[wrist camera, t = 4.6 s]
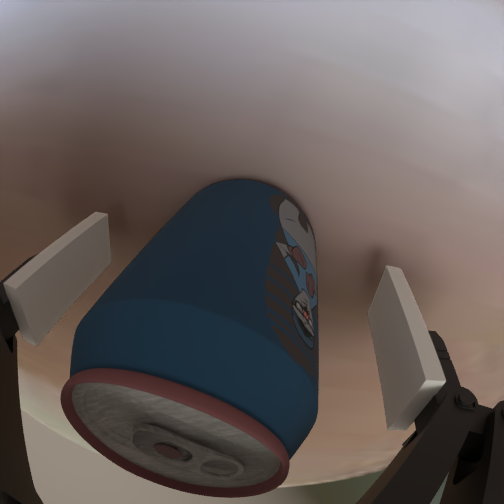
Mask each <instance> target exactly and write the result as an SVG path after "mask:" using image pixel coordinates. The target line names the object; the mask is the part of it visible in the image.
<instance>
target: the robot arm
mask: <svg viewBox="0 0 504 504" xmlns="http://www.w3.org/2000/svg"><path fill="white" fill-rule="evenodd" d="M111 263H112V259H111V249H110V237H109V224H108V214H106V213H100V212H94V213H93V214H91V215H90V216H89V217H87V218H86V219H84V220H83V221H81V222H80V223H79V224H77V225H76V226H75V227H73V228H72V229H70V230H69V231H68V232H66V233H65V234H64V235H62V236H61V237H60V238H58V239H57V240H56V241H54V242H53V243H52V244H51V245H49V246H48V247H47V248H45V249H44V250H43V251H42V252H40V253H38V254H36V255H34V256H32V257H30V258H29V259H27V260H26V261H25V262H24V263H22V265H20V266H19V267H18V268H17V269H16V270H14V271H13V272H12V273H10V274H9V275H8V276H7V277H6V278H5V279H3V280H2V281H1V282H0V504H43V502H42V500H41V499H40V497H39V496H38V494H37V492H36V490H35V488H34V484H33V480H32V476H31V472H30V467H29V462H28V457H27V451H26V446H25V440H24V433H23V426H22V418H21V409H20V399H19V386H18V366H17V339H16V336H15V333H16V332H17V331H18V330H20V332H21V335H22V337H23V339H24V341H27V342H29V343H31V344H33V345H35V346H37V345H38V344H39V343H40V342H41V341H42V339H43V338H44V337H45V336H46V335H47V334H48V332H49V331H50V330H51V329H52V328H53V326H54V325H55V324H56V323H57V322H58V321H59V320H60V318H61V317H62V316H63V315H64V314H65V313H66V312H67V310H68V309H69V308H70V307H71V306H72V305H73V304H74V303H75V301H76V300H77V299H78V298H79V297H80V296H81V295H82V294H83V293H84V292H85V291H86V289H87V288H88V287H89V286H90V285H91V284H92V283H93V282H94V281H95V280H96V279H97V278H98V277H99V276H100V275H101V273H102V272H103V271H104V270H105V269H106V268H107V267H108V266H109V265H110V264H111ZM367 315H368V320H369V324H370V329H371V334H372V339H373V344H374V349H375V354H376V359H377V365H378V371H379V376H380V382H381V388H382V395H383V401H384V408H385V415H386V422H387V430H407V429H408V427H409V426H410V425H411V424H412V423H413V422H414V421H415V426H416V430H415V431H414V433H413V434H412V435H411V436H410V437H409V438H408V439H407V440H406V441H405V442H404V443H403V444H402V445H403V447H402V449H401V450H400V451H399V453H398V454H397V455H396V457H395V458H394V459H393V461H392V462H391V463H390V464H389V466H388V467H387V468H386V469H385V471H384V472H383V473H382V474H381V476H380V477H379V478H378V479H377V480H376V481H375V483H374V484H373V485H372V486H371V487H370V488H369V490H368V491H367V492H366V493H365V494H364V495H363V496H362V497H361V498H360V500H359V501H358V502H357V503H356V504H430V502H431V501H432V499H433V498H434V496H435V495H436V493H437V491H438V489H439V488H440V486H441V485H442V483H443V481H444V479H445V477H446V476H447V474H448V472H449V474H448V478H447V481H446V485H445V488H444V491H443V494H442V498H441V501H440V504H504V401H500V402H499V403H498V404H497V405H496V406H495V407H494V408H493V409H492V408H488V407H485V406H482V405H479V404H478V401H477V399H476V397H475V396H474V394H473V393H472V392H471V391H470V390H468V389H466V388H464V387H461V385H460V382H459V380H458V377H457V374H456V371H455V369H454V366H453V364H452V361H451V360H450V356H449V353H448V352H447V348H446V346H445V343H444V341H443V340H442V338H441V337H440V336H439V335H438V334H437V333H436V331H428V329H427V327H426V324H425V322H424V320H423V317H422V315H421V312H420V310H419V307H418V305H417V303H416V300H415V298H414V296H413V294H412V291H411V289H410V287H409V285H408V282H407V280H406V278H405V276H404V274H403V271H402V269H401V268H398V267H393V266H388V265H386V267H385V269H384V272H383V275H382V277H381V280H380V283H379V285H378V288H377V290H376V293H375V295H374V298H373V300H372V303H371V305H370V308H369V310H368V313H367Z"/></svg>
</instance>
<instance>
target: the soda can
mask: <svg viewBox="0 0 504 504" xmlns="http://www.w3.org/2000/svg"><path fill="white" fill-rule="evenodd" d="M318 381H319V338H318V291H317V265H316V245H315V238H314V233H313V230H312V227H311V225H310V223H309V221H308V219H307V217H306V215H305V214H304V212H303V211H302V209H301V208H300V207H299V206H298V205H297V204H296V203H295V202H294V201H293V200H292V199H291V198H290V197H289V196H287V195H286V194H284V193H283V192H281V191H280V190H278V189H276V188H274V187H272V186H270V185H267V184H264V183H261V182H257V181H252V180H244V179H235V180H226V181H222V182H218V183H215V184H212V185H210V186H208V187H206V188H204V189H202V190H201V191H199V192H198V193H197V194H195V195H194V196H193V197H192V198H191V199H190V200H189V201H188V202H187V203H186V204H185V205H184V206H183V207H182V208H181V209H180V210H179V211H178V212H177V213H176V214H175V215H174V216H173V217H172V218H171V219H170V220H169V221H168V222H167V224H166V225H165V226H164V227H163V228H162V229H161V230H160V231H159V232H158V233H157V234H156V235H155V236H154V237H153V238H152V239H151V241H150V242H149V243H148V244H147V245H146V246H145V247H144V248H143V249H142V250H141V251H140V253H139V254H138V255H137V256H136V257H135V258H134V259H133V260H132V261H131V263H130V264H129V265H128V266H127V267H126V268H125V269H124V270H123V272H122V273H121V274H120V275H119V276H118V277H117V278H116V280H115V281H114V282H113V283H112V284H111V285H110V286H109V288H108V289H107V290H106V291H105V292H104V294H103V295H102V296H101V297H100V298H99V299H98V301H97V302H96V303H95V304H94V305H93V307H92V308H91V309H90V310H89V311H88V313H87V314H86V315H85V316H84V318H83V319H82V320H81V322H80V323H79V325H78V327H77V329H76V332H75V335H74V339H73V346H72V355H71V367H70V379H69V380H68V381H67V382H66V383H65V385H64V387H63V389H62V392H61V405H62V408H63V411H64V413H65V415H66V417H67V419H68V421H69V422H70V424H71V425H72V426H73V428H74V429H75V430H76V431H77V432H78V433H79V435H80V436H81V437H82V438H83V439H84V440H85V441H86V442H88V443H89V444H90V445H91V446H92V447H93V448H94V449H96V450H97V451H98V452H99V453H101V454H102V455H103V456H105V457H106V458H107V459H109V460H110V461H112V462H113V463H115V464H116V465H118V466H120V467H121V468H123V469H125V470H127V471H129V472H131V473H133V474H135V475H137V476H139V477H142V478H144V479H147V480H149V481H152V482H154V483H157V484H160V485H163V486H166V487H169V488H173V489H176V490H180V491H183V492H188V493H192V494H198V495H204V496H212V497H228V498H229V497H230V498H232V497H233V498H234V497H247V496H255V495H259V494H263V493H266V492H269V491H271V490H273V489H275V488H277V487H278V486H280V485H281V484H282V483H283V482H284V480H285V479H286V477H287V475H288V471H289V460H290V459H291V458H292V456H293V455H294V454H295V452H296V451H297V450H298V448H299V447H300V446H301V444H302V443H303V441H304V440H305V438H306V437H307V436H308V434H309V432H310V431H311V429H312V427H313V425H314V423H315V421H316V418H317V413H318Z"/></svg>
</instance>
